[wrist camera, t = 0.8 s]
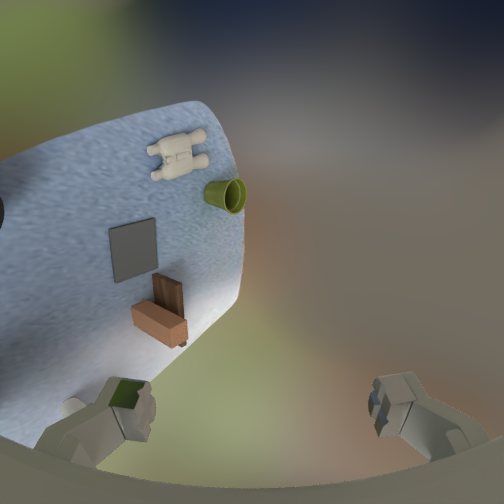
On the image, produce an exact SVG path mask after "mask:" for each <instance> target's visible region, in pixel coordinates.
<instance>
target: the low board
mask: <svg viewBox="0 0 504 504" xmlns="http://www.w3.org/2000/svg"><path fill="white" fill-rule="evenodd" d="M152 280H153V290H154V300H155V304H156V305H158V306H160V307H162V308H164V309H166V310H168V311H170V312H172V313H174V314H176V315H178V316H179V317H181V318H183V319H184V308H183V293H182V283H180V282H178V281H175V280H173V279H171V278H168V277H166V276H164V275H161V274H159V273H155V274H152ZM185 345H186V341H184V342H182V343H181V344H179V345H178V346H180V347H184V346H185Z"/></svg>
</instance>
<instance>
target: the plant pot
mask: <svg viewBox="0 0 504 504" xmlns="http://www.w3.org/2000/svg"><path fill="white" fill-rule="evenodd" d="M204 193H205V195H204V199H205V201H206V202H207V203H208V204H211V205H213V206H216V207H219V208H222V209H224V210H226V211H227V212H228V213H230V214H233V215H235V214H238V213H239V212H240V211H241V210H242V209H243V207H244V205H245V203H246V198H247V189H246V185H245V183H244V181H243V180H242V179H240V178H233V179H231V180H229V181H216V182H210V183H208V184H207V186H206V187H205V190H204Z"/></svg>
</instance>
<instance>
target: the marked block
mask: <svg viewBox="0 0 504 504" xmlns="http://www.w3.org/2000/svg"><path fill="white" fill-rule="evenodd" d="M131 309H132V316H133V322H134V325H135V326H137V327H138V328H140V329H141V330H143V331H144V332H146V333H147V334H149V335H151V336H152V337H154V338H155V339H157V340H159V341H160V342H162V343H163V344H165V345H167V346H168V347H170V348H174V347H176V346H177V345H179V344H181V343H182V342H184V341H186V340H187V339H188V330H187V320H185V319H183V318H181V317H179V316H178V315H176V314H174V313H172V312H170V311H168V310H166V309H164V308H162V307H160V306H158V305H156V304H154V303H152V302H151V301H149V300H146V301H143V302H141V303H139V304H137V305H134V306H132V307H131Z"/></svg>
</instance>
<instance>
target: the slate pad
mask: <svg viewBox="0 0 504 504" xmlns="http://www.w3.org/2000/svg"><path fill="white" fill-rule="evenodd" d="M109 239H110V249H111V258H112V266H113V274H114V281H115V283H119V282H121V281H124V280H127V279H129V278H132V277H135V276H137V275H140V274H143V273H145V272H148V271H151V270H154V269H156V268H158V264H157V250H156V233H155V219H153V218H152V219H148V220H144V221H140V222H136V223H131V224H127V225H123V226H119V227H115V228H112V229H109Z"/></svg>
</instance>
